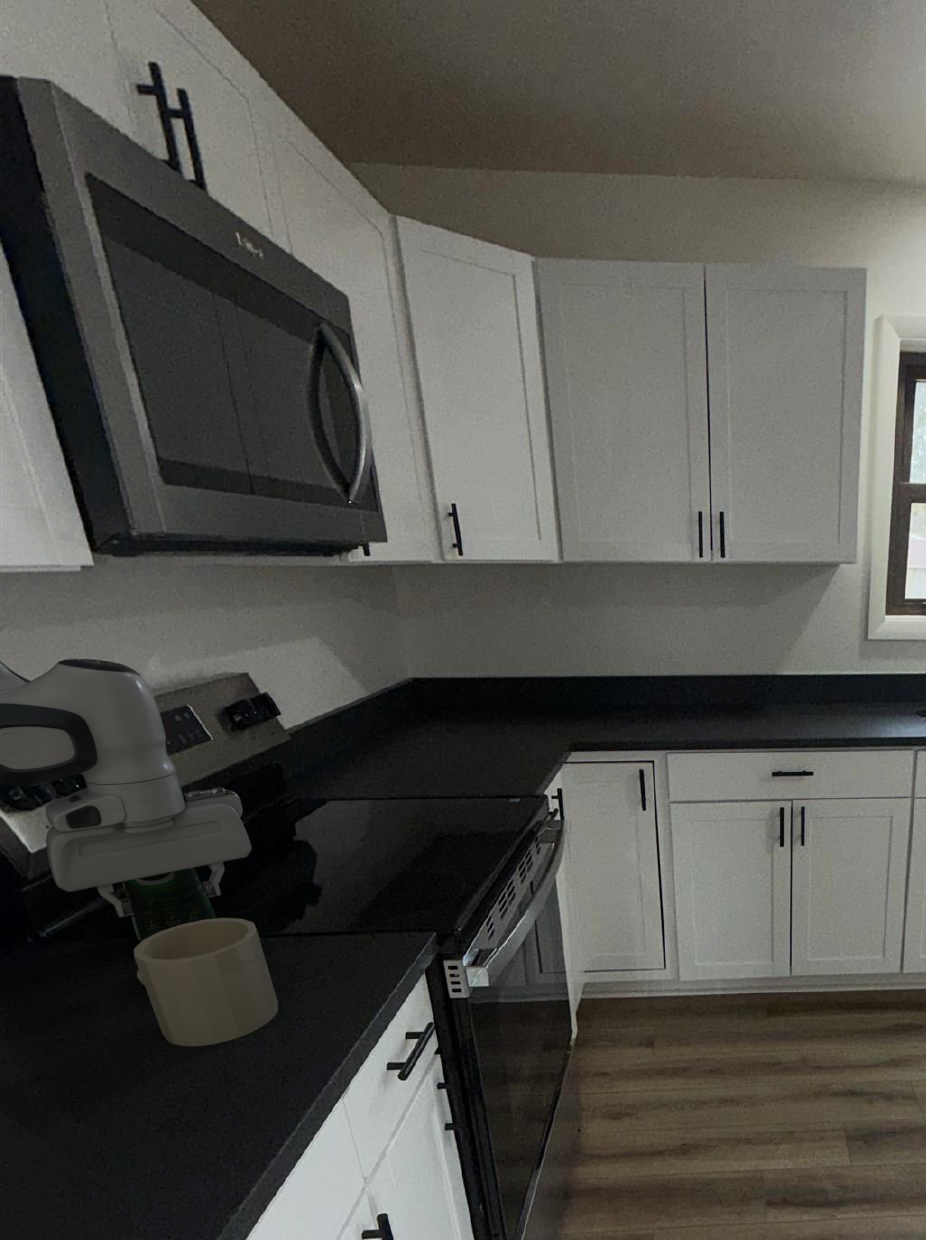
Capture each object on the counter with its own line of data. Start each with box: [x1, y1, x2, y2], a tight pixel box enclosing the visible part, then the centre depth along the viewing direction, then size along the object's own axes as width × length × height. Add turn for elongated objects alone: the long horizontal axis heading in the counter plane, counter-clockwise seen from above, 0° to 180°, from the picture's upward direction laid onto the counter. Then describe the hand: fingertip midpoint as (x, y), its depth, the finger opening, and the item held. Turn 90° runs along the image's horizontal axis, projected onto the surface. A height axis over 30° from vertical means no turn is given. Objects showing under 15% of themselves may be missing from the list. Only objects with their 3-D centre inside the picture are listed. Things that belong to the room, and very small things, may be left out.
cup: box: [133, 917, 279, 1047], centre depth 96 cm, size 12×12×11 cm
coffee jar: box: [122, 867, 217, 943], centre depth 116 cm, size 10×8×19 cm
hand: (170, 904), depth 106 cm, fingers open, 8 cm apart
